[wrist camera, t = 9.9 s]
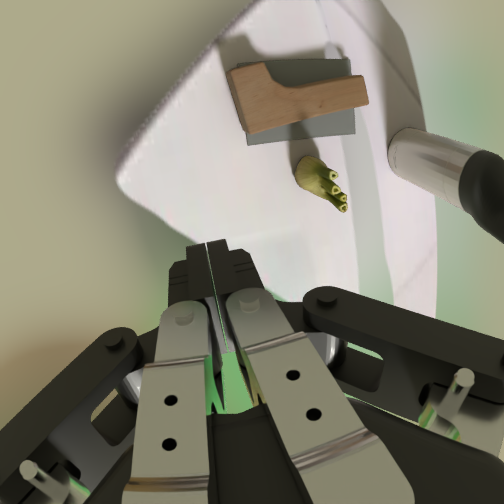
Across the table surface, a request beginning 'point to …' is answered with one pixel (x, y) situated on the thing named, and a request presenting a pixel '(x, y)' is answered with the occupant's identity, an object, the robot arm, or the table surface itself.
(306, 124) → the mat
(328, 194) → the fennel bulb
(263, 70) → the wooden block
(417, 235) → the table surface
